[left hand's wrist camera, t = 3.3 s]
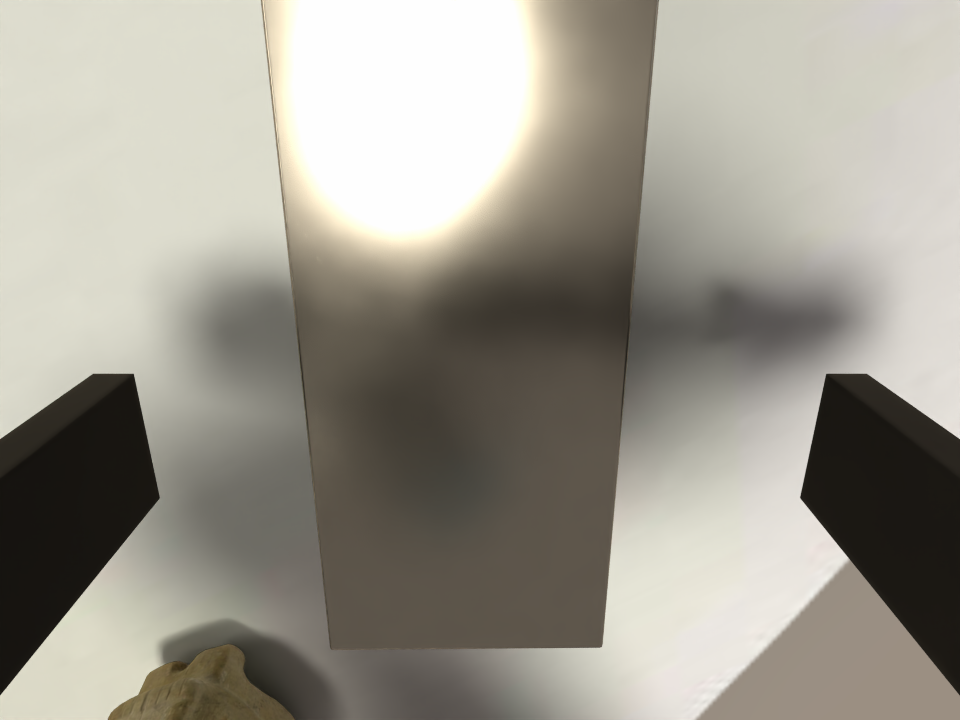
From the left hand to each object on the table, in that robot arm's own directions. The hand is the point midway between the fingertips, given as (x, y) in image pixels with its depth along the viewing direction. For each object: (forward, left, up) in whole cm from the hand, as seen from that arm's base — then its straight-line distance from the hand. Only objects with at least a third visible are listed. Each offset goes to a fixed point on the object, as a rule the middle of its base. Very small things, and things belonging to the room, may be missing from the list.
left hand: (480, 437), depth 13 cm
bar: (+7, +4, -8) cm, 12 cm away
